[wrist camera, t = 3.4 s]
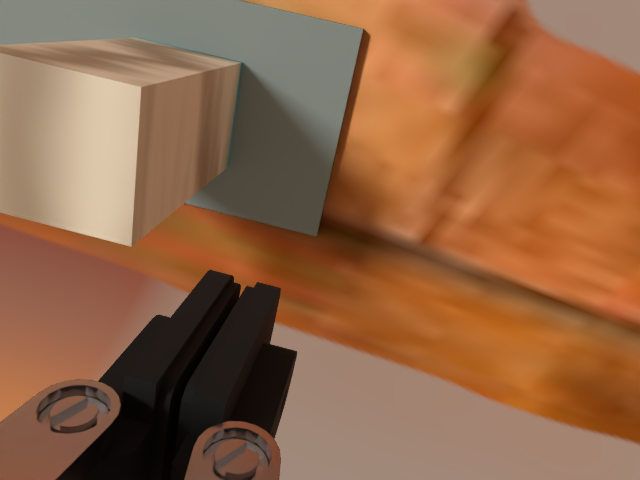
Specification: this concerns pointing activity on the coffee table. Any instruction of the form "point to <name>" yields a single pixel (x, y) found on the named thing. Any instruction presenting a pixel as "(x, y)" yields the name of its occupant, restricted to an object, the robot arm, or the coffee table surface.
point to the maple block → (111, 132)
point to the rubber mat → (254, 93)
